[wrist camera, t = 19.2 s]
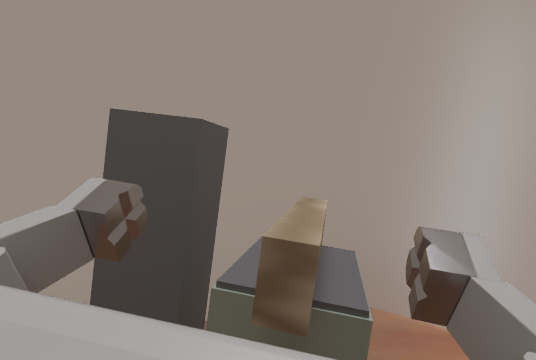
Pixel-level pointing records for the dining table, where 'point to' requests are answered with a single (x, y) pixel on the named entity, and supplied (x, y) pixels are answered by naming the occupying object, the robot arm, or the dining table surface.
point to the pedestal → (164, 215)
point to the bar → (289, 268)
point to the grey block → (322, 312)
